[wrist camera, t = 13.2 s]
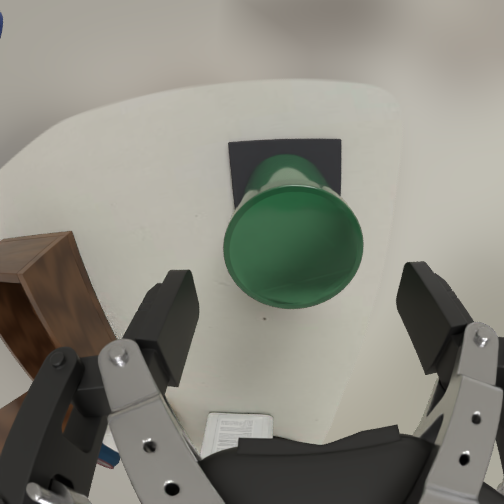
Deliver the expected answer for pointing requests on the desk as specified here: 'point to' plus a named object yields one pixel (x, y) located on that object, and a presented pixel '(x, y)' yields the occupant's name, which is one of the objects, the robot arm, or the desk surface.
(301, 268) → the green pot
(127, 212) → the desk surface
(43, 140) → the desk surface
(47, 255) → the wooden box
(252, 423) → the photo printer
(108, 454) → the soda can
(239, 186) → the mat
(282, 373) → the desk surface
